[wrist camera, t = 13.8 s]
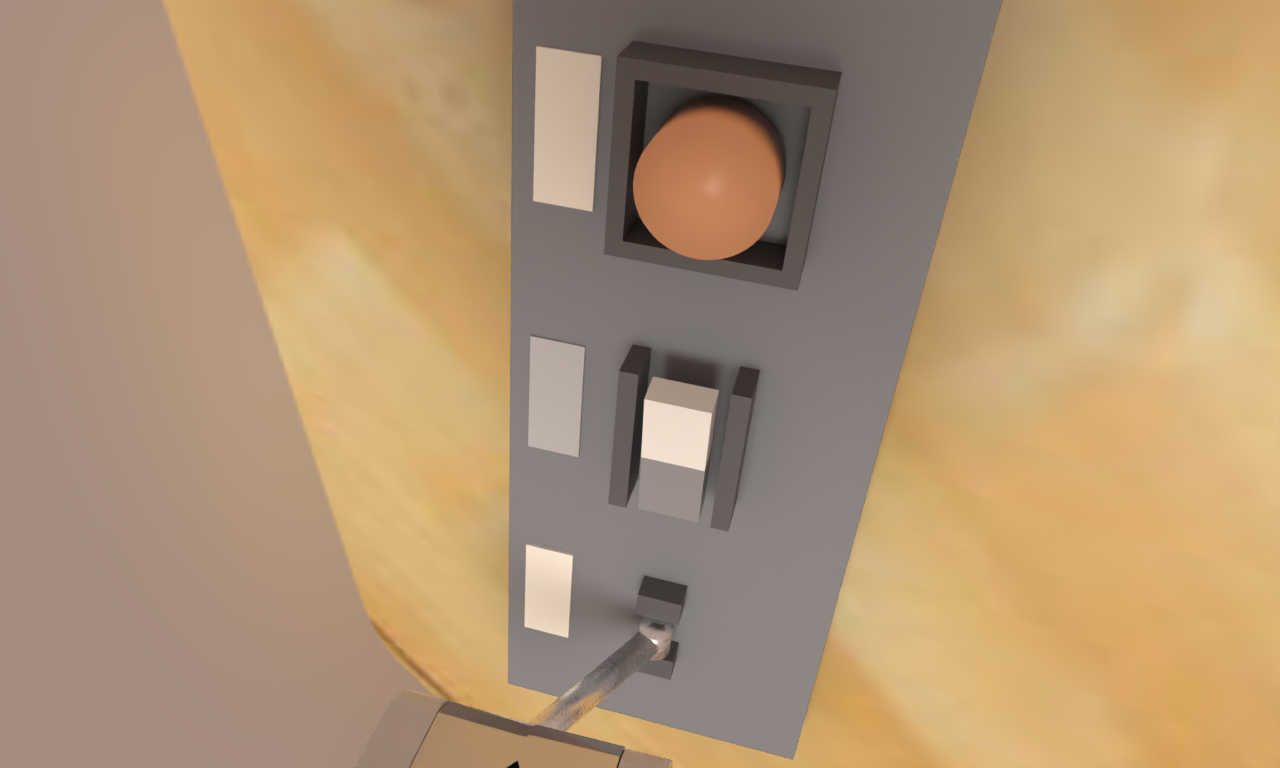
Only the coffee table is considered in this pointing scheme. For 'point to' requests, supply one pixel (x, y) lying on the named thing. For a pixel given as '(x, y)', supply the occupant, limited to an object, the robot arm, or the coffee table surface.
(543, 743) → the robot arm
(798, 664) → the control panel
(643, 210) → the push button
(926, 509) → the coffee table surface
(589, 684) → the toggle lever
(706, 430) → the rocker switch
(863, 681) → the coffee table surface
